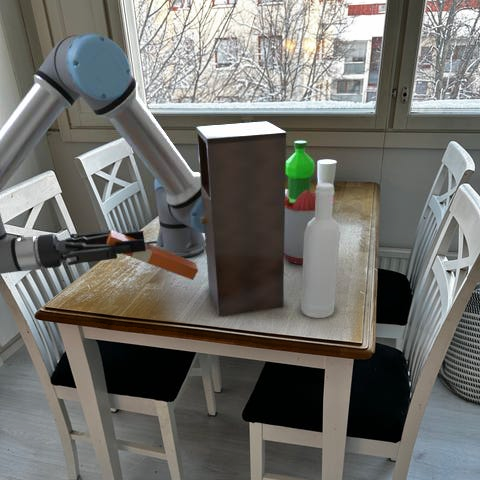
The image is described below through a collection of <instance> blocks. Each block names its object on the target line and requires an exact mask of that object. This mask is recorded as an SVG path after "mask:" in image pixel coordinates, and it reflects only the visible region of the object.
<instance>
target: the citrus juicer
mask: <svg viewBox="0 0 480 480" xmlns="http://www.w3.org/2000/svg"><path fill="white" fill-rule="evenodd" d="M315 203H316V194H315V192H311V190H310V191H308V190H305V191H304V192H303V193H302V194H301V195H300V196H299V197H298V198H297V199H296V201H295V202H293V203H292V202H290V199H289V198H288V197H287V196H285V235H284V259H286V261H289V262H290V263H294V264H297V265H303V253H304V233H305V230H306V227H307V225H308V222H310V221H311V220H312V219H313V218H314V217H315ZM335 203H336V200H335V199H334V198H333V207H332V218H333V219H334V207H335V206H334V205H335Z"/></svg>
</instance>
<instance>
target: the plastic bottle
mask: <svg viewBox="0 0 480 480" xmlns="http://www.w3.org/2000/svg"><path fill="white" fill-rule="evenodd" d="M307 146H308V142H307V141H306V140H295V141H294V142H293V149H294V151H295V152H294V153H292V155H290V157H289V158H288V159H286V177H287V189H288V190H289V199H290V202H292V203H293V202H295V201H296V199H297V198H298V197H299V196H300V195H301V194H302V193H303V192H304V191H305V190H308V191H310V192H311V176H312V175H313V174H314V172H315V167H316V163H315V161H314V159H313V158H312V157H311V156H310V155H309V154H308V153H306V148H307Z"/></svg>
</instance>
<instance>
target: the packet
mask: <svg viewBox="0 0 480 480" xmlns="http://www.w3.org/2000/svg"><path fill="white" fill-rule="evenodd" d="M109 231H110V234H109V236H108V239H107V244H115V242H120V241H129V240H137V239H134V238H131V237H129V236H126V235H124V234H121V233H122V232H118V231H116V230H114V229H110V230H109ZM115 246H116V245H115ZM145 249H146V251H141V252H133V253H124V254H123V255H124V256H128V257H130V258H133V259H135V260H138V261H141V262H143V263H145V264H149V265H151V266H154V267H157V268H160V269H162V270H165V271H167V272H171V273H173V274H176V275H178V276H181V277H184V278H186V279H189V280H191V281H194V279H195V277H196V275H197V273H198V272H199V268H198V266H197V262H195V261H193V260H190V259H188V258H186V257H183V258H182V257H180V256H177V255H175V254H172V253H170V252H167V251H165V250H162V249H159V248H157V246H155V245H153V244H147V243H145Z"/></svg>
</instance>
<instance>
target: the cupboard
mask: <svg viewBox="0 0 480 480" xmlns="http://www.w3.org/2000/svg"><path fill="white" fill-rule="evenodd" d="M196 138H197V139H196V140H197V152H198V153H197V154H198V166H199V173H200V179H201V192H202V204H203V217H201V218H200V219H201V224H202V225H204V230H205V233H204V239H205V245H206V247H205V253H206V254H205V255H206V267H207V279H208V290H209V293H210V296H211V298H212V302H213V304H214V306H215V307H214V308H215V309H216V313H217V315H218V317H224V316H231V315H238V314H244V313H252V312H259V311H265V310H272V309H278V308H284V285H285V282H284V281H285V256H284V235H285V189H286V177H287V174H286V161H287V132H286V131H285V130H283V129H281V128H279V127H277V126H276V125H274V124H272V123H270V122H268V121H257V122H244V123H231V124H217V125H205V126H196Z"/></svg>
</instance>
